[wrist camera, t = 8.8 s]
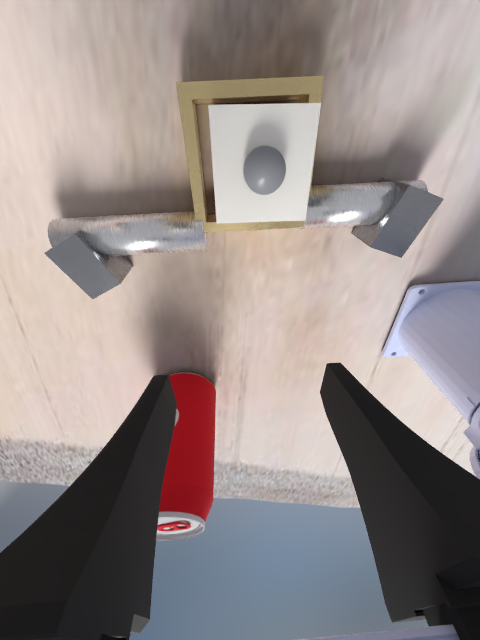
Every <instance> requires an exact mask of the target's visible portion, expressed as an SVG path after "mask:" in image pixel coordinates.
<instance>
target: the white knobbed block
mask: <svg viewBox="0 0 480 640" xmlns="http://www.w3.org/2000/svg"><path fill="white" fill-rule="evenodd" d="M320 108H321V103H288V104H230V105H208V109H209V123H210V137H211V151H212V165H213V179H214V193H215V207H216V221H217V224H218V223H248V222H277V221H306V213H307V206H308V198H309V191H310V183H311V176H312V168H313V161H314V153H315V146H316V138H317V131H318V123H319V116H320Z"/></svg>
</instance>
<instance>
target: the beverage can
mask: <svg viewBox="0 0 480 640" xmlns="http://www.w3.org/2000/svg"><path fill="white" fill-rule="evenodd" d="M169 379H170V382H171V385H172V388H173V391H174V395H175V398H176V401H177V408H176V419H175V427H174V432H173V436H172V441H171V446H170V451H169V455H168V460H167V465H166V470H165V474H164V479H163V485H162V492H161V500H160V508H159V517H158V526H157V535H156V540H161V541H163V540H179V539H185V538H189V537H193V536H196V535H198V534H200V533H201V532H203V530H204V528H205V521H206V518H207V516H208V513H209V511H210V509H211V506H212V502H213V485H214V444H215V403H216V390H215V387H214V385H213V384H212V383H211V382H210V381H209V380H208V379H206V378H205V377H203V376H201V375H198V374H195V373H189V372H180V373H174V374H171V375H169Z"/></svg>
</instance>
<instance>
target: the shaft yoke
mask: <svg viewBox="0 0 480 640" xmlns="http://www.w3.org/2000/svg"><path fill="white" fill-rule="evenodd" d="M323 81H324V76H305V77H282V78H259V79H237V80H214V81H192V82H176V84H177V91H178V98H179V105H180V113H181V120H182V127H183V134H184V141H185V148H186V155H187V162H188V170H189V177H190V184H191V191H192V198H193V205H194V211H187V212H169V213H151V214H133V215H115V216H97V217H80V218H62V219H53V220H51V222H50V223H49V226H48V236H49V241H50V243H51V246H52V247H53V248H51V249H50V250H48V251H47V252H45V254H46V255H47V256H48V257H49V258H50V259H51V260H52V261H53V262H54V263H55V264H56V265H57V266H58V267H59V268H60V269H61V270H62V271H63V272H64V273H66V274H67V275H68V276H69V277H70V278H71V279H72V280H73V281H74V282H75V283H76V284H77V285H78V286H79V287H80V288H81V289H82V290H83V291H84V292H85V293H86V294H88V295H89V296H90V297H91V298H92V299H94V298H96V297H98V296H99V295H101V294H103V293H105V292H107V291H108V290H110V289H112V288H114V287H115V286H117V285H119V284H121V282H122V281H123V280H124V278H125V277H126V275H127V274H128V272H129V271H130V270H131V268H132V267H133V265H132V263H131V262H130V261H129V260H128V259H127V257H126V256H125V255H141V254H158V253H175V252H191V251H207V250H208V240H207V233H213V232H230V231H248V230H265V229H282V228H300V229H308V228H325V227H342V226H355V228H354V230H353V231H352V234H353V235H354V236H356V237H357V238H359V239H360V240H361V241H363V242H364V243H365V244H367V245H368V246H370V247H371V248H374V249H377V250H380V251H383V252H386V253H389V254H392V255H395V256H398V257H401V258H402V256H403V255H404V253H405V252H406V251H407V249H408V248H409V246H410V245H411V244H412V242H413V241H414V240H415V238H416V237H417V235H418V234H419V233H420V231H421V230H422V228H423V227H424V226H425V224H426V223H427V221H428V220H429V219H430V217H431V216H432V215H433V213H434V212H435V210H436V209H437V208H438V206H439V205H440V203H441V202H442V201H443V198H440V197H438V196H436V195H433V194H431V193H429V192H428V189H427V186H426V184H425V183H424V182H423V181H422V180H409V181H393V180H389V179H385V178H383V179H382V180H381V182H372V183H354V184H335V185H317V186H311V184H312V176H313V168H312V176H311V183H310V191H309V198H308V206H307V213H306V221H277V222H248V223H218V224H217V221H216V214H208V212H207V203H206V194H205V185H204V176H203V167H202V158H201V149H200V140H199V131H198V122H197V113H196V104H212V103H234V102H256V101H277V100H299V103H321V98H322V90H323ZM318 124H319V123H318ZM317 133H318V131H317ZM316 141H317V138H316ZM315 150H316V146H315ZM314 159H315V153H314ZM313 167H314V161H313Z"/></svg>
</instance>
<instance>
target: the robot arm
mask: <svg viewBox="0 0 480 640" xmlns="http://www.w3.org/2000/svg"><path fill="white" fill-rule="evenodd" d="M420 290H421V291H420ZM419 291H420V292H419ZM382 355H383V356H384V357H387V358H388V357H402V356H411V358H412V359H413V360H414V361H415V362H416V363H417V365H418V366H419V367H420V368H421V369H422V370H423V372H424V373H425V374H426V375H427V376H428V377H429V378H430V380H431V381H432V382H433V383H434V384H435V385H436V387H437V388H438V389H439V390H440V391H441V392H442V393H443V395H444V396H445V397H446V398H447V399H448V400H449V402H450V403H451V404H452V405H453V406H454V407H455V409H456V410H457V411H458V412H459V413H460V414H461V415H462V417H463V418H464V419H465V420H466V421H467V422H468V424H469V425H470V426H469V427H468V428H467V429H466V430H465V431H464V434H465V435H466V437H467V438H468V439H469V440H470V442H471V443H472V444H473V445H474V447H473V448H472V449H471V452H470V462H471V466H472V469H473V471H474V474H475V476H476V477H475V476H474V475H472V474H471V473H469V472H468V471H466V470H465V469H463V468H462V467H461V466H459V465H458V464H456V463H455V462H453V461H452V460H451V459H449V458H448V457H446V456H445V455H443V454H442V453H441V452H439V451H438V450H436V449H435V448H434V447H432V446H431V445H430V444H428V443H427V442H426V441H425V440H423V439H422V438H421V437H419V436H418V435H417V434H416V433H414V432H413V431H412V430H411V429H409V428H408V427H407V426H406V425H405V424H404V423H402V422H401V421H400V420H399V419H398V418H397V417H395V416H394V415H393V414H392V413H391V412H390V411H389V410H388V409H387V408H385V407H384V406H383V405H382V404H381V403H380V402H379V401H378V400H377V399H376V398H375V397H374V396H373V395H372V394H371V393H370V392H369V391H368V390H367V389H366V388H365V387H364V386H363V385H362V384H361V383H360V382H359V381H358V380H357V379H356V378H355V377H354V376H353V375H352V374H351V373H350V372H349V371H348V370H347V369H346V368H345V367H344V366H343V365H342V364H341V363H328V364H327V365H326V369H325V374H324V378H323V382H322V386H321V390H320V394H321V398H322V401H323V405H324V408H325V412H326V415H327V417H328V420H329V422H330V425H331V427H332V430H333V432H334V435H335V437H336V439H337V442H338V444H339V447H340V449H341V452H342V454H343V456H344V459H345V461H346V464H347V467H348V469H349V472H350V475H351V478H352V481H353V484H354V488H355V491H356V494H357V497H358V501H359V504H360V507H361V511H362V514H363V518H364V521H365V524H366V528H367V532H368V536H369V540H370V543H371V547H372V551H373V554H374V558H375V562H376V567H377V570H378V575H379V579H380V583H381V587H382V591H383V596H384V600H385V604H386V606H387V610H388V612H389V615H390V618H391V620H392V622H400V621H401V622H402V621H412V620H423V619H426V620H427V623H428V625H429V627H419V628H409V629H399V630H389V631H378V632H367V633H358V634H347V635H336V636H326V637H315V638H305V639H294V640H480V281H468V282H452V283H437V284H421V285H413V286H411V287H410V288H409V289H408V290H407V293H406V295H405V298H404V300H403V303H402V305H401V307H400V310H399V312H398V315H397V317H396V320H395V322H394V324H393V327H392V329H391V332H390V334H389V337H388V339H387V341H386V344H385V346H384V349H383V351H382ZM176 408H177V401H176V398H175V395H174V391H173V388H172V385H171V382H170V379H169V375H157V376H154V377H153V378H152V380H151V381H150V383H149V384H148V386H147V388H146V389H145V391H144V392H143V394H142V396H141V397H140V399H139V400H138V402H137V403H136V405H135V406H134V408H133V409H132V411H131V412H130V413H129V415H128V416H127V418H126V419H125V421H124V422H123V423H122V425H121V426H120V427H119V429H118V430H117V431H116V433H115V434H114V435H113V437H112V438H111V439H110V441H109V442H108V443H107V445H106V446H105V447H104V448H103V449H102V451H101V452H100V453H99V454H98V456H97V457H96V458H95V459H94V460H93V461H92V463H91V464H90V465H89V466H88V467H87V468H86V469H85V471H84V472H83V473H82V474H81V475H80V476H79V477H78V478H77V479H76V480H75V481H74V483H73V484H72V485H71V486H70V487H69V488H68V489H67V490H66V491H65V492H64V493H63V494H62V495H61V496H60V497H59V498H58V500H56V501H55V502H54V503H53V504H52V505H51V506H50V507H49V508H48V509H47V510H46V511H45V512H44V513H43V514H42V515H41V516H40V517H39V518H38V519H37V520H36V521H35V522H34V523H33V524H32V525H31V526H30V527H28V528H27V529H26V530H25V531H24V532H23V533H22V534H21V535H20V536H19V537H18V538H17V539H16V540H14V541H13V542H12V543H11V544H10V545H9V546H7V547H6V548H5V549H4V550H3V551H2V552H1V553H0V640H129V637H130V634H133V633H140V632H141V631H142V630H143V628H144V627H145V626H146V624H147V623H148V621H149V620H150V606H151V593H152V579H153V567H154V556H155V545H156V535H157V526H158V517H159V508H160V500H161V492H162V485H163V479H164V474H165V470H166V465H167V460H168V455H169V451H170V446H171V441H172V436H173V432H174V427H175V419H176Z"/></svg>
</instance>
